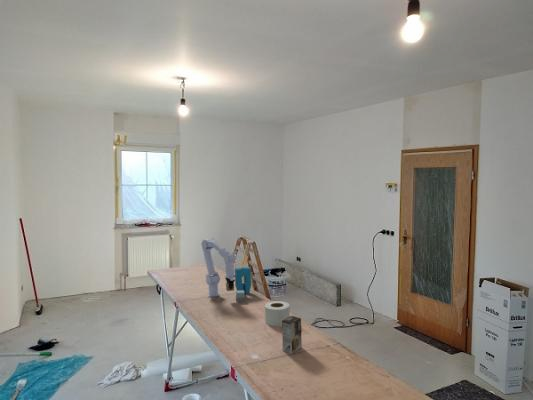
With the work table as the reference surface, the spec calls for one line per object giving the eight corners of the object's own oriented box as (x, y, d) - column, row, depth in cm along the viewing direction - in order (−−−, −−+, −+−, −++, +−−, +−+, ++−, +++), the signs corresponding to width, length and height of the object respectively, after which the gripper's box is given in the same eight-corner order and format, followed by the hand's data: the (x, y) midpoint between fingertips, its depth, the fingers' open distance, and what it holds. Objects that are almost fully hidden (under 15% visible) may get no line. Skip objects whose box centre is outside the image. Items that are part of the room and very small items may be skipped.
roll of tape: (287, 327, 234) (287, 309, 233) (262, 325, 237) (262, 308, 236) (291, 317, 249) (291, 301, 248) (267, 316, 252) (267, 300, 252)
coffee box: (292, 344, 209) (291, 315, 208) (302, 347, 205) (301, 317, 204) (282, 350, 202) (281, 320, 201) (292, 354, 198) (291, 323, 197)
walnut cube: (226, 289, 288) (226, 282, 288) (232, 288, 290) (232, 282, 289) (227, 291, 283) (227, 284, 283) (234, 290, 285) (233, 283, 285)
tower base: (235, 299, 289) (235, 295, 289) (243, 299, 290) (243, 294, 290) (236, 302, 283) (236, 297, 283) (244, 301, 284) (244, 297, 284)
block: (249, 291, 309) (248, 266, 308) (251, 293, 304) (251, 268, 303) (235, 293, 304) (234, 268, 303) (237, 295, 300) (236, 269, 298)
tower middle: (236, 295, 289) (236, 290, 289) (244, 294, 289) (244, 290, 289) (236, 297, 283) (236, 293, 283) (244, 297, 283) (244, 292, 283)
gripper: (222, 268, 292) (223, 286, 292) (226, 272, 278) (226, 291, 278) (231, 267, 294) (232, 285, 294) (235, 271, 280) (236, 290, 280)
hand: (230, 287), depth 286 cm, fingers closed on walnut cube, 5 cm apart
